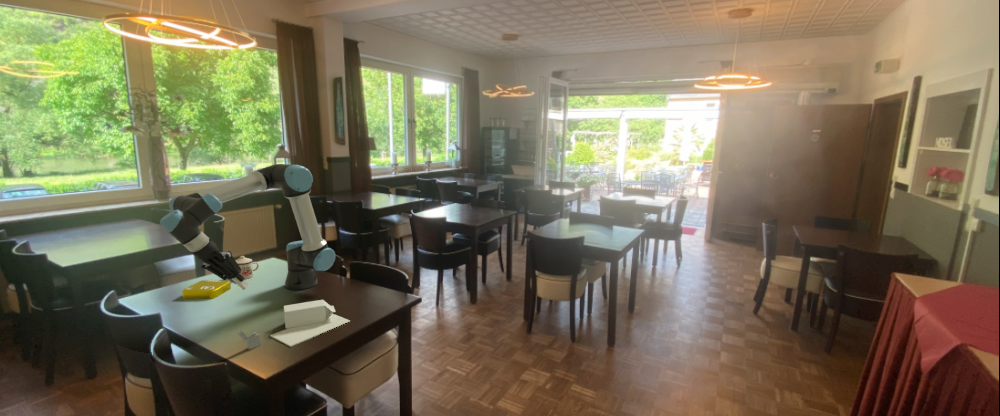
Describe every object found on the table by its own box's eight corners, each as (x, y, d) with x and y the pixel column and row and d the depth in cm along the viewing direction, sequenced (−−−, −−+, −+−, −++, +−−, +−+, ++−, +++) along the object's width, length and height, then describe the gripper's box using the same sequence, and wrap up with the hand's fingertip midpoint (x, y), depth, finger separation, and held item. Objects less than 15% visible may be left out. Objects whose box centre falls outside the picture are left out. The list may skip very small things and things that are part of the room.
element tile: (232, 288, 209) (231, 279, 208) (213, 299, 194) (213, 290, 193) (201, 288, 208) (201, 279, 207) (180, 299, 193) (179, 290, 193)
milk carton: (284, 312, 164) (335, 303, 173) (283, 305, 170) (332, 297, 179) (285, 329, 165) (336, 319, 174) (284, 321, 171) (333, 313, 180)
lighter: (258, 343, 154) (256, 323, 153) (260, 345, 153) (259, 324, 152) (238, 351, 148) (236, 330, 147) (240, 353, 147) (238, 332, 146)
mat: (320, 309, 185) (320, 308, 185) (350, 321, 173) (350, 320, 173) (260, 331, 163) (260, 330, 163) (290, 347, 152) (290, 345, 152)
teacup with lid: (236, 281, 218) (234, 259, 216) (232, 276, 225) (230, 256, 223) (261, 276, 226) (260, 255, 224) (257, 272, 233) (255, 252, 231)
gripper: (181, 258, 154) (229, 299, 166) (209, 245, 152) (255, 287, 164) (192, 246, 160) (237, 286, 172) (219, 233, 158) (263, 275, 170)
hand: (246, 286), depth 168 cm, fingers closed
